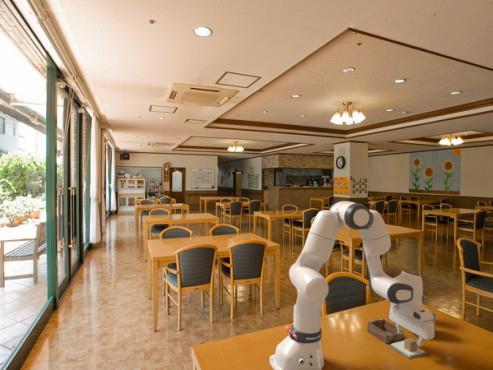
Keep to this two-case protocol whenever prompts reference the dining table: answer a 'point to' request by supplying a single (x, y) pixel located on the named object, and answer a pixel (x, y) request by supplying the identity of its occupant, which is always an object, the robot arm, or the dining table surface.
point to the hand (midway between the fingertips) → (409, 339)
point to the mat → (406, 355)
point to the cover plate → (399, 344)
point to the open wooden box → (384, 330)
